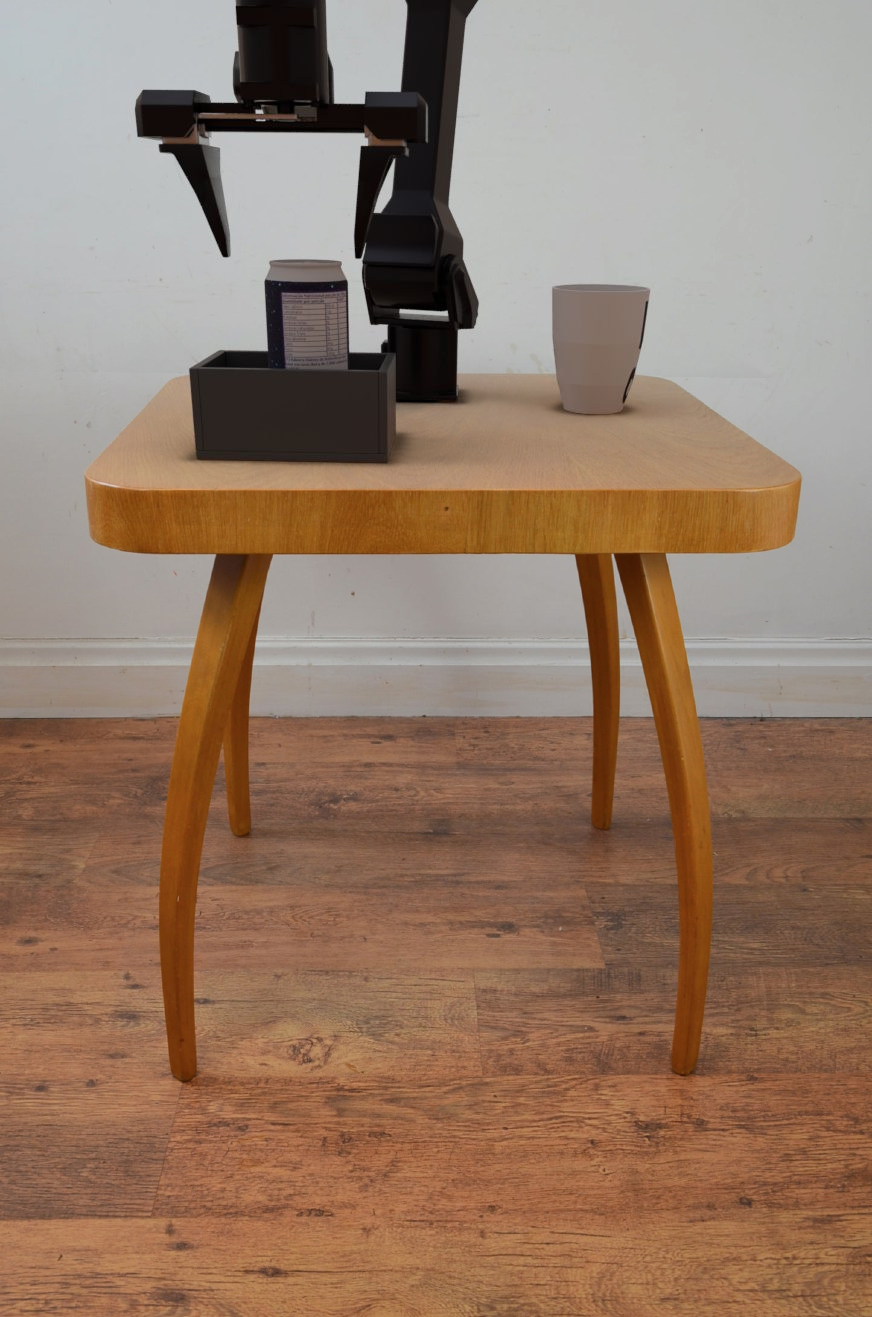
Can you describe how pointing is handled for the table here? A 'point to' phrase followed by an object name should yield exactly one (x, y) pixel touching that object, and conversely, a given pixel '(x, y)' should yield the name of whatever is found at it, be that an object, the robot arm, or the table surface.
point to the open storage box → (293, 409)
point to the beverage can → (307, 315)
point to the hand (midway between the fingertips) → (292, 257)
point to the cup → (597, 343)
